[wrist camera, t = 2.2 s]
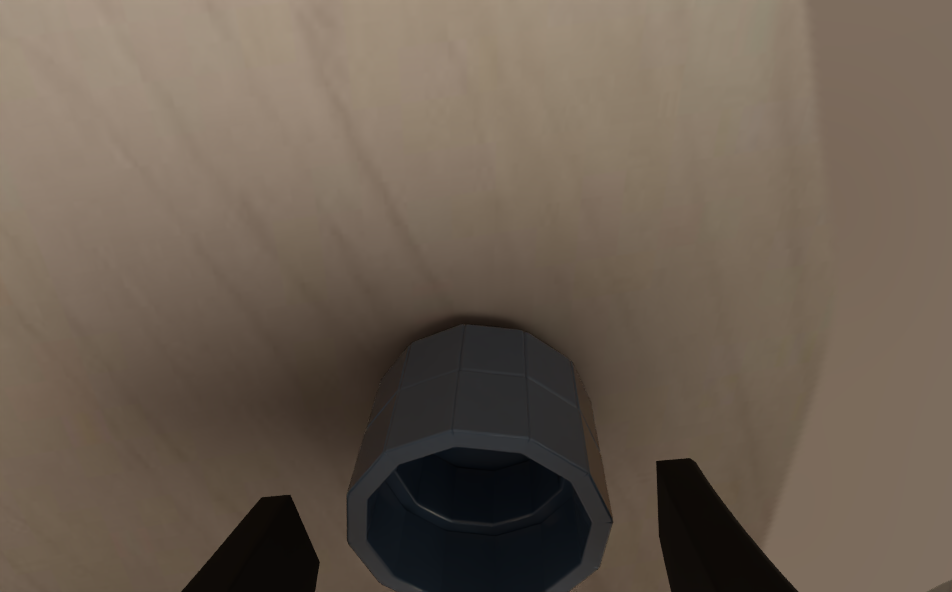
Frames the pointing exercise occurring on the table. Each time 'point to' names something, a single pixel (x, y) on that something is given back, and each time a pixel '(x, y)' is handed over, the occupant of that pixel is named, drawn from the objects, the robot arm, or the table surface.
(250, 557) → the robot arm
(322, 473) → the table surface
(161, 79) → the table surface
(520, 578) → the cup
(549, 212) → the table surface
